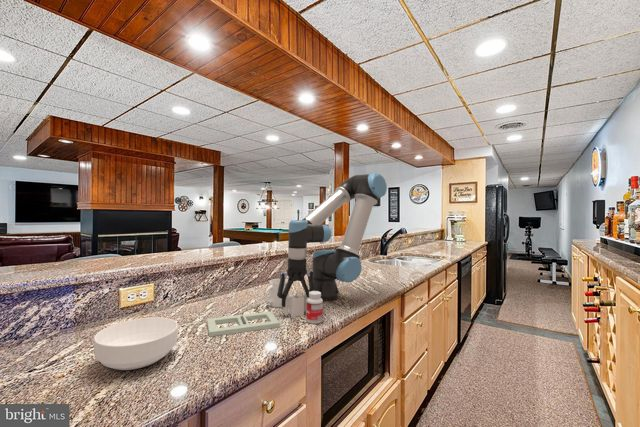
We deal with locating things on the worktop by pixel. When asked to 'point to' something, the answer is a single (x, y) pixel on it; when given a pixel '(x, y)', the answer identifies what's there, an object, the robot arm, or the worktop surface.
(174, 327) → the bowl
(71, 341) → the worktop surface
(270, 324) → the faceplate
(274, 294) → the mug
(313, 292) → the pill bottle
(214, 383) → the worktop surface
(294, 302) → the block
